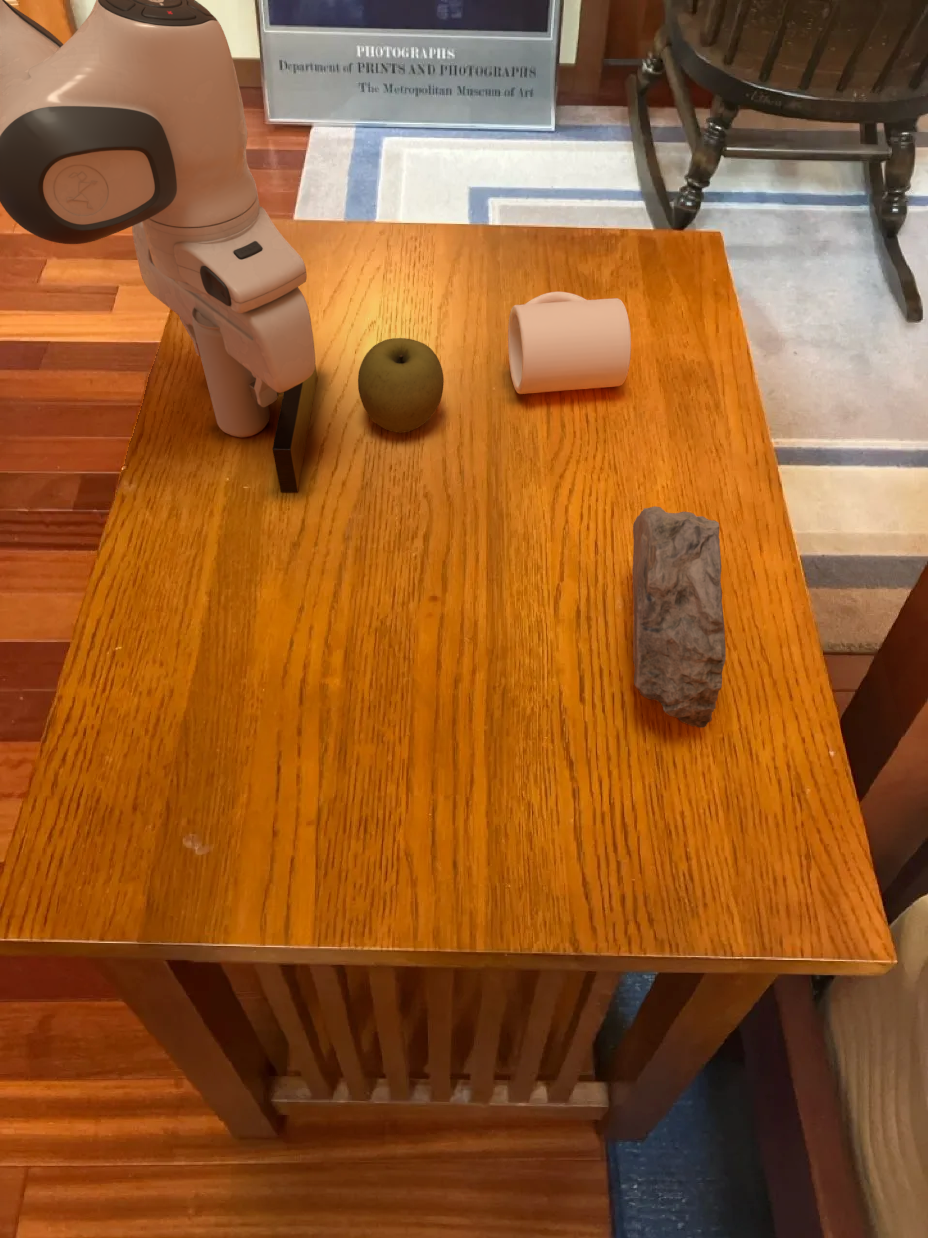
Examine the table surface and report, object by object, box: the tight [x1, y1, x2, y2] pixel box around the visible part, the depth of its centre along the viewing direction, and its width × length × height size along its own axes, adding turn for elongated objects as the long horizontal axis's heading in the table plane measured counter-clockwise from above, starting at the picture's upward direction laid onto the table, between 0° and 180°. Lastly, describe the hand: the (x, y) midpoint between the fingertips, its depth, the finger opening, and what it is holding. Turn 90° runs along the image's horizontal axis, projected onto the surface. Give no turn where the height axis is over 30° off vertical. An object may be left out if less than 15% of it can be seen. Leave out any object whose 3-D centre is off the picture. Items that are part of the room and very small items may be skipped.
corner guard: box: [271, 363, 318, 493], centre depth 83 cm, size 10×16×5 cm, turn 179°
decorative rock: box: [632, 505, 727, 729], centre depth 65 cm, size 16×7×15 cm, turn 173°
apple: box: [357, 337, 445, 433], centre depth 84 cm, size 8×8×7 cm
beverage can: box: [192, 307, 271, 438], centre depth 81 cm, size 5×5×12 cm
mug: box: [507, 291, 632, 395], centre depth 88 cm, size 12×10×8 cm
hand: (236, 377), depth 83 cm, fingers open, 7 cm apart
